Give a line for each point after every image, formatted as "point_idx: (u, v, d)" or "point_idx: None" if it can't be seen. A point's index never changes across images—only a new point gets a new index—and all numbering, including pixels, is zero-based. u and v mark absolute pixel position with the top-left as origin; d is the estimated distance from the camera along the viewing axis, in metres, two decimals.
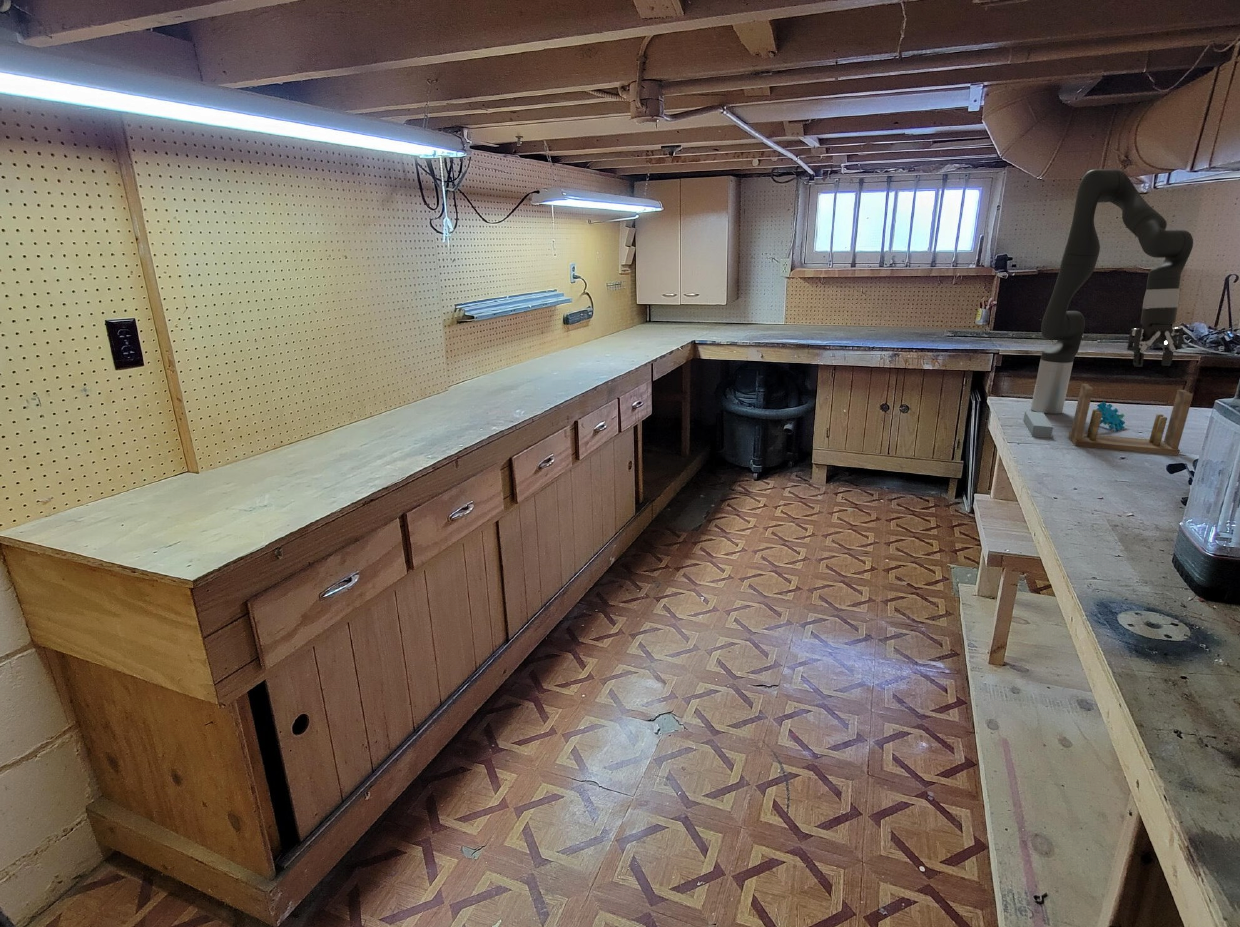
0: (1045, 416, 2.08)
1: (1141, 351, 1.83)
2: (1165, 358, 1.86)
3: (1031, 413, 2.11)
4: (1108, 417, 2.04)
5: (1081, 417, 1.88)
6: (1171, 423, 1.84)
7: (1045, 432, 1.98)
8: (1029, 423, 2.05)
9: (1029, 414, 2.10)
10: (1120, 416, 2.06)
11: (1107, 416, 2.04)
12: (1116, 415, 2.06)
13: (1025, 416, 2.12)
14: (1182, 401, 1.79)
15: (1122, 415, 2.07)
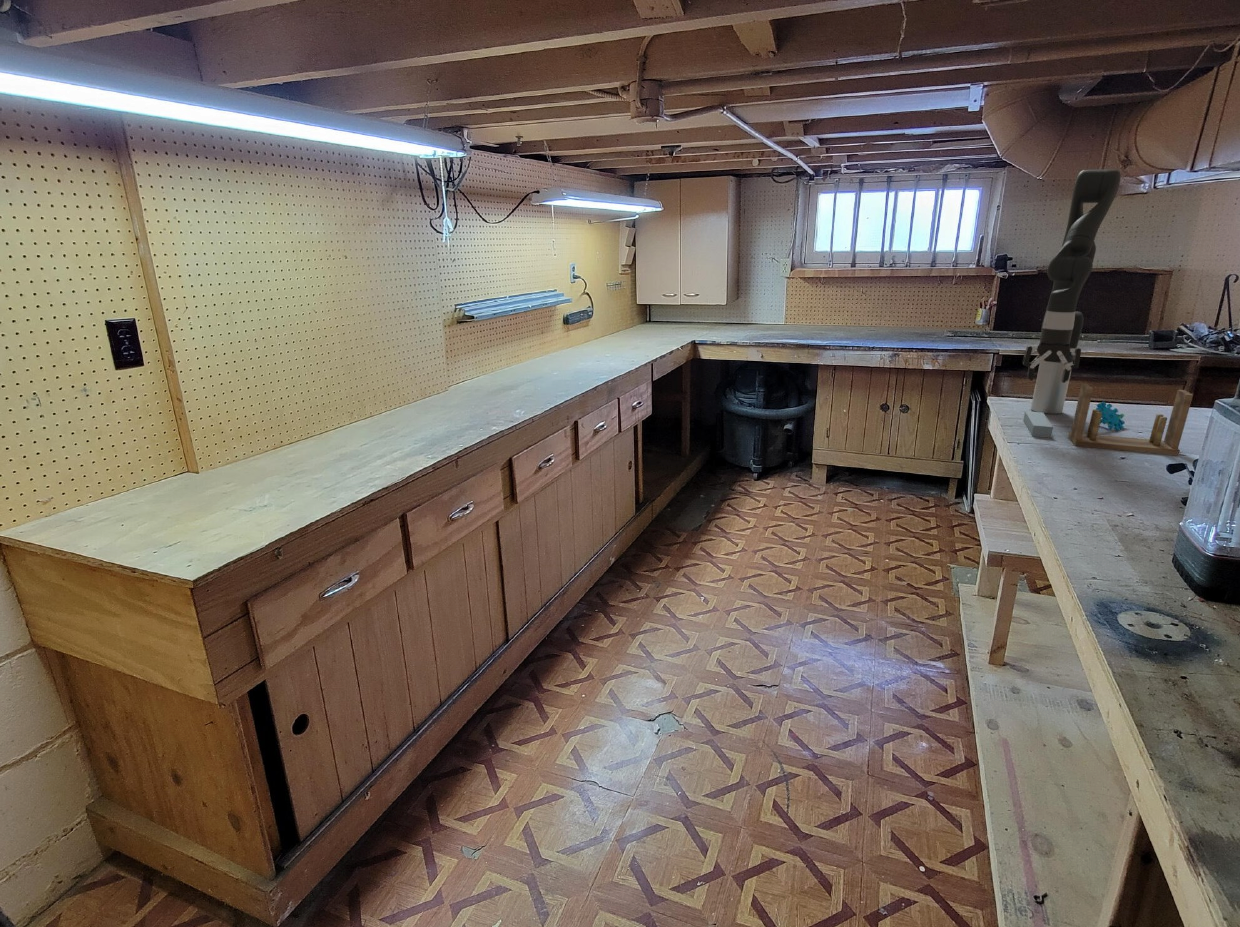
0: (1045, 416, 2.08)
1: (1031, 367, 2.00)
2: (1063, 376, 1.99)
3: (1031, 413, 2.11)
4: (1107, 417, 2.04)
5: (1081, 417, 1.88)
6: (1171, 423, 1.84)
7: (1045, 432, 1.98)
8: (1029, 423, 2.05)
9: (1029, 414, 2.10)
10: (1120, 416, 2.06)
11: (1106, 416, 2.04)
12: (1116, 415, 2.06)
13: (1025, 416, 2.12)
14: (1182, 401, 1.79)
15: (1122, 415, 2.07)
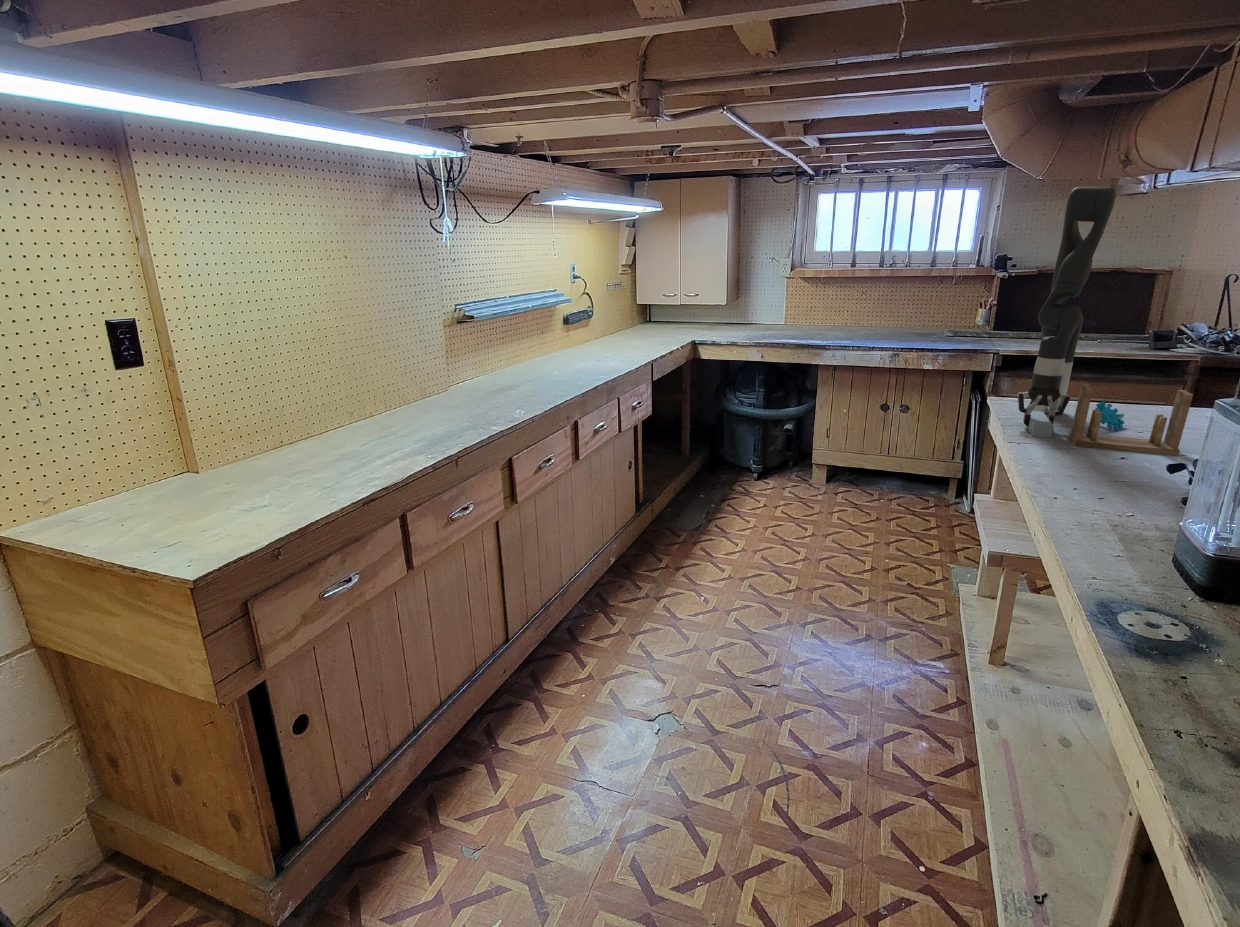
0: (1045, 415, 2.08)
1: (1027, 413, 2.05)
2: None
3: (1031, 412, 2.11)
4: (1107, 417, 2.04)
5: (1081, 417, 1.88)
6: (1171, 423, 1.84)
7: (1045, 431, 1.98)
8: (1029, 422, 2.05)
9: None
10: (1120, 416, 2.06)
11: (1106, 416, 2.04)
12: (1115, 415, 2.06)
13: None
14: (1182, 401, 1.79)
15: (1122, 415, 2.07)
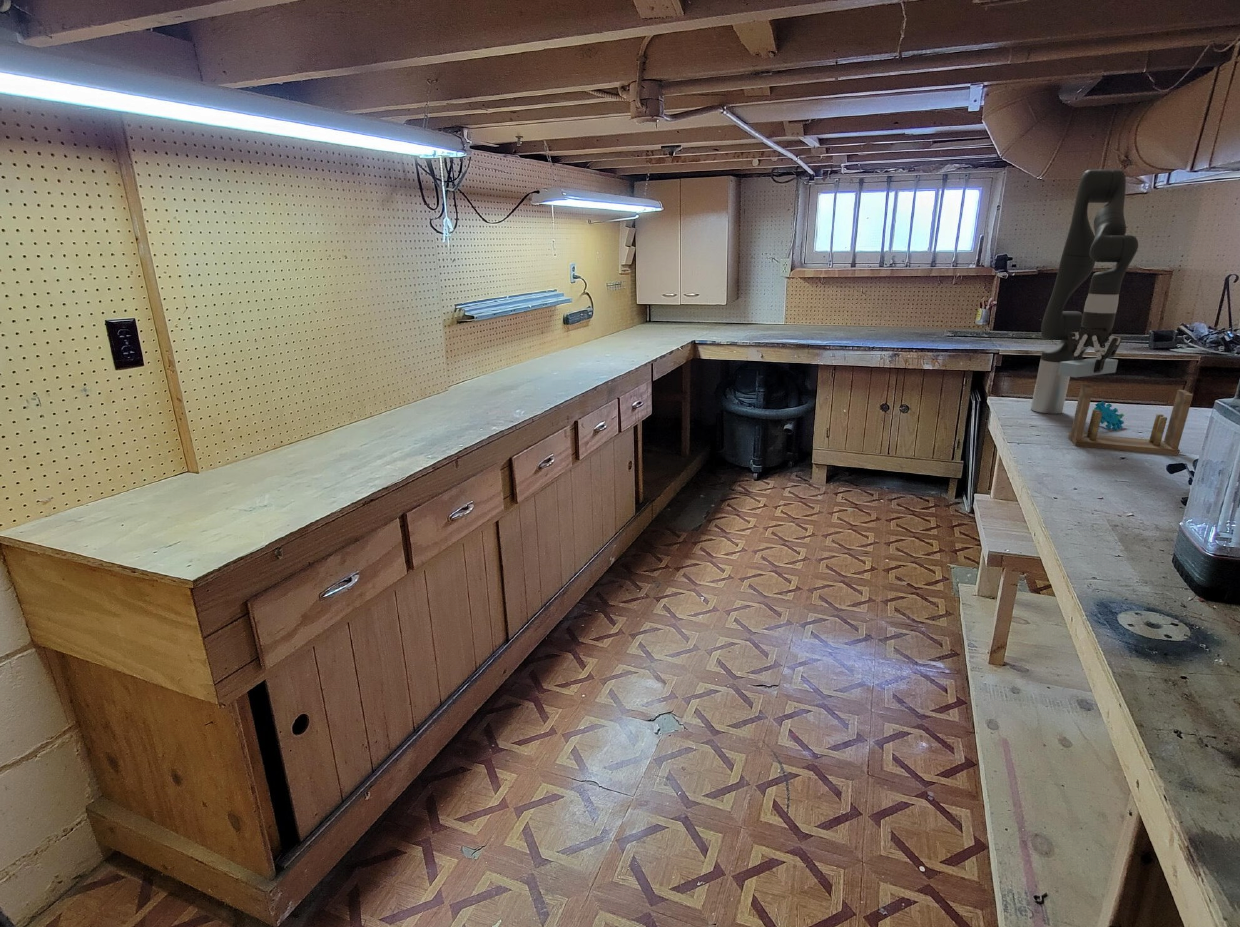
0: (1106, 361, 1.90)
1: (1075, 354, 1.93)
2: None
3: None
4: (1105, 417, 2.05)
5: (1081, 417, 1.88)
6: (1171, 423, 1.84)
7: (1070, 370, 1.87)
8: None
9: (1093, 358, 1.94)
10: (1119, 416, 2.07)
11: (1105, 415, 2.05)
12: (1115, 415, 2.06)
13: None
14: (1182, 401, 1.79)
15: (1121, 415, 2.07)
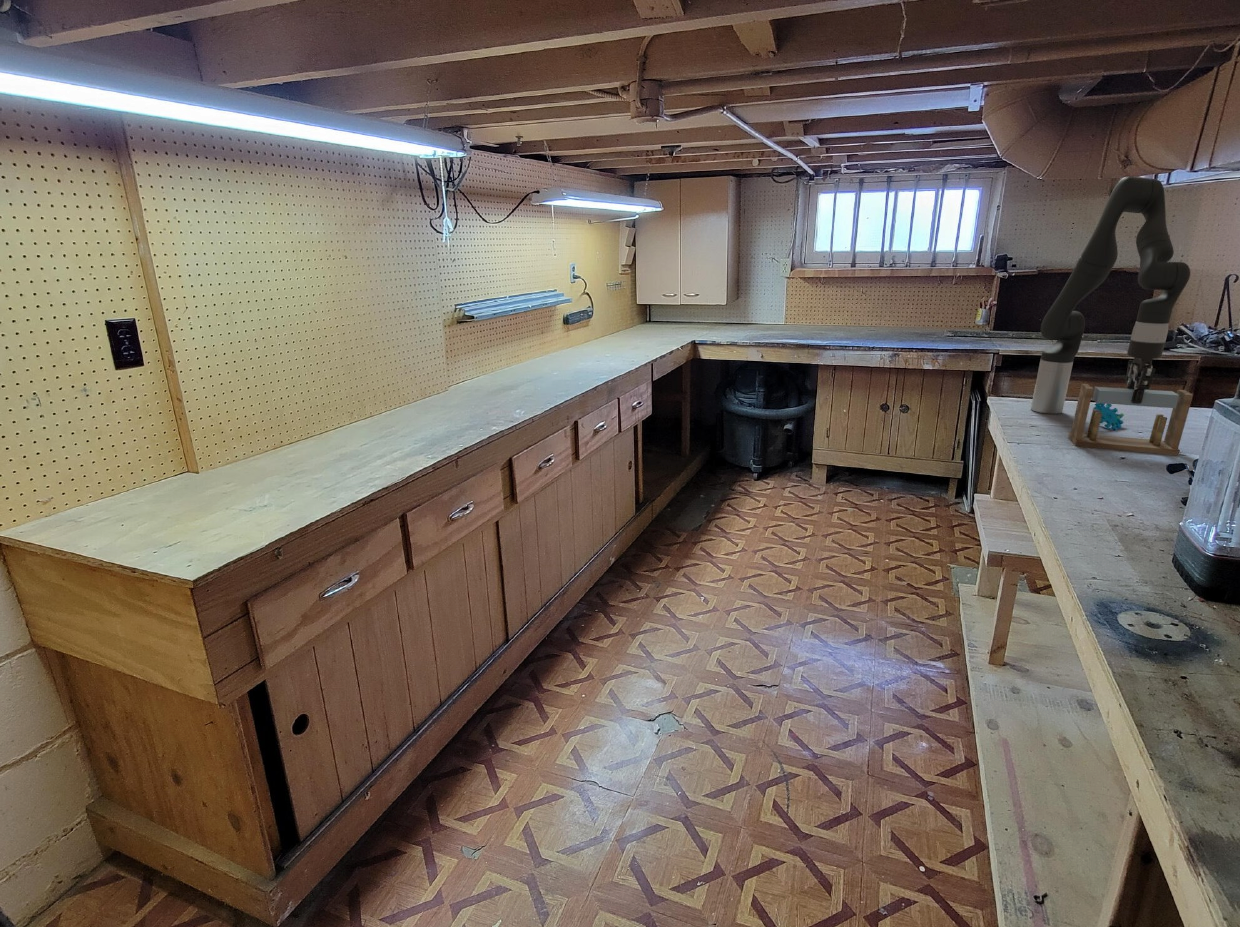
0: (1155, 393, 1.80)
1: (1127, 383, 1.87)
2: None
3: (1162, 391, 1.82)
4: (1105, 416, 2.05)
5: (1081, 417, 1.88)
6: (1171, 423, 1.84)
7: (1096, 395, 1.87)
8: None
9: (1154, 390, 1.84)
10: (1119, 416, 2.07)
11: (1104, 415, 2.05)
12: (1114, 414, 2.06)
13: None
14: (1182, 401, 1.79)
15: (1121, 415, 2.07)
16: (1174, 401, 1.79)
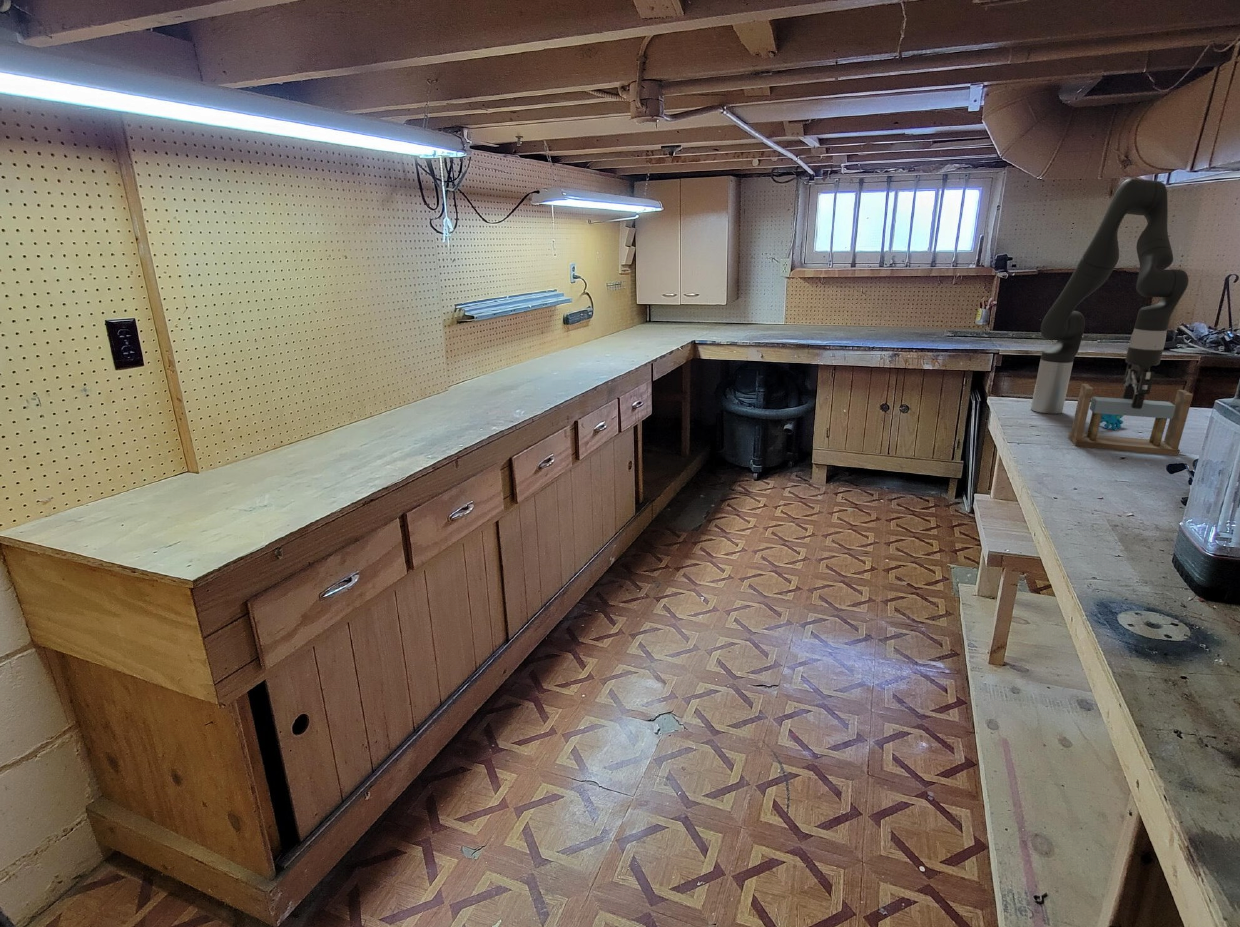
0: (1152, 404, 1.81)
1: (1124, 386, 1.88)
2: None
3: (1159, 402, 1.83)
4: (1104, 416, 2.05)
5: (1081, 417, 1.88)
6: (1171, 423, 1.84)
7: (1093, 405, 1.88)
8: None
9: (1151, 401, 1.85)
10: (1119, 416, 2.07)
11: (1103, 415, 2.05)
12: None
13: None
14: (1182, 401, 1.79)
15: (1121, 415, 2.07)
16: (1171, 412, 1.80)
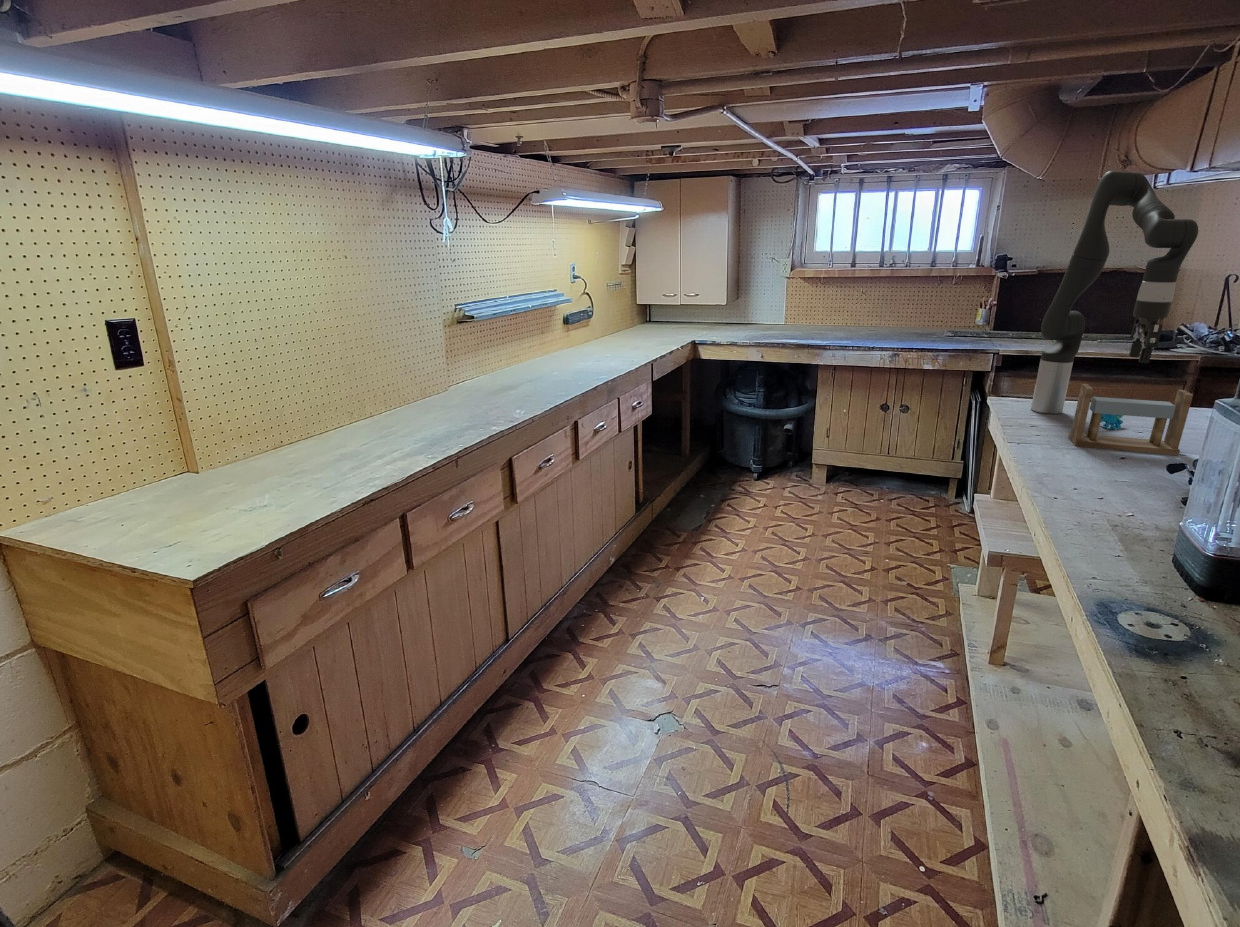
0: (1152, 404, 1.81)
1: None
2: None
3: (1159, 402, 1.83)
4: (1103, 416, 2.05)
5: (1081, 417, 1.88)
6: (1171, 423, 1.84)
7: (1093, 405, 1.88)
8: None
9: (1151, 401, 1.85)
10: (1118, 415, 2.07)
11: (1103, 415, 2.05)
12: None
13: None
14: (1182, 401, 1.79)
15: (1121, 415, 2.07)
16: (1171, 412, 1.80)
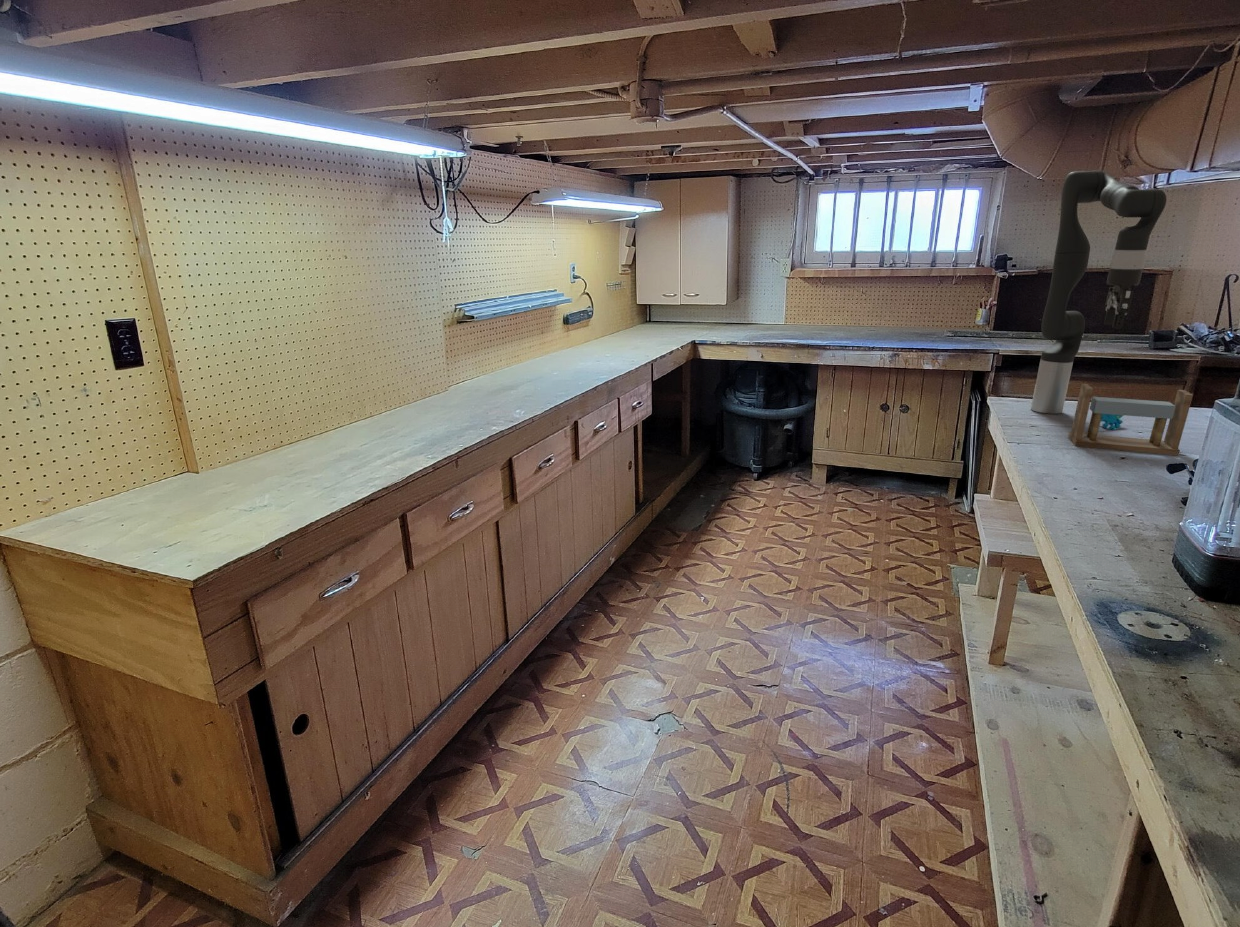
0: (1152, 404, 1.81)
1: (1106, 309, 1.93)
2: None
3: (1159, 402, 1.83)
4: (1103, 416, 2.05)
5: (1081, 417, 1.88)
6: (1171, 423, 1.84)
7: (1093, 405, 1.88)
8: None
9: (1151, 401, 1.85)
10: (1118, 415, 2.07)
11: (1102, 415, 2.06)
12: None
13: None
14: (1182, 401, 1.79)
15: (1121, 415, 2.07)
16: (1171, 412, 1.80)
